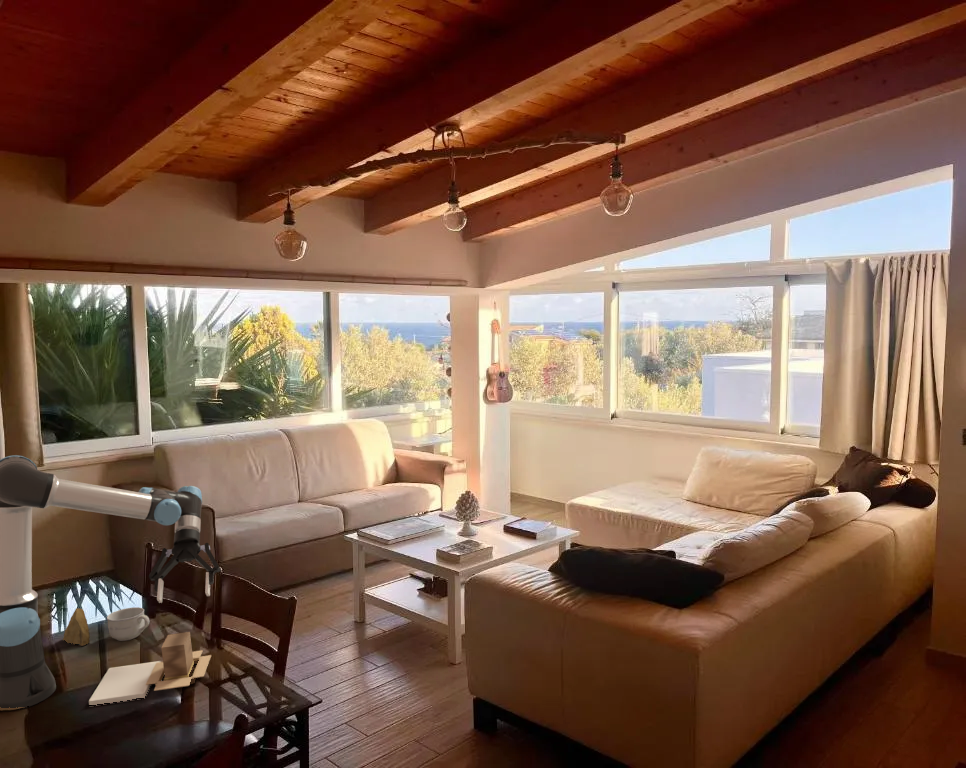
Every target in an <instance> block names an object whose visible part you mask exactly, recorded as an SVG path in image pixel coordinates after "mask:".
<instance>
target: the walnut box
mask: <svg viewBox="0 0 966 768" xmlns="http://www.w3.org/2000/svg"><path fill="white" fill-rule="evenodd" d="M192 647H193V646H192V640H191V632H190V631H186V632H177V633H171V634H167V635H166V637H165V640H164V641H163V643H162V646H161V657H162V662H163V665H164V673H165V676H164V678H163V681H165V680H172V679H179V678H186V677H189V674H190V672H191V670H192V667H193V665H194V661H193V654H192V652H193V648H192Z"/></svg>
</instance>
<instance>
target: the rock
mask: <svg viewBox="0 0 966 768" xmlns="http://www.w3.org/2000/svg"><path fill="white" fill-rule="evenodd" d="M90 637H91V636H90V629H89V624H88V620H87V618H86V614H85V611H84V609H83V608H80V607H77V608H75V609H74V611H73V613H72V615H71V617H70V619H69V621H68V624H67V626H66V628H65V630H64V634H63V638H62V641H64V640H65V641H66V642H67V643H66V642H65V641H64V642H65V643H66V644H69V643H71V645H75V644H80V645H79V646H85V645H86V644H87V645H89V644H90V642H91V641H90V640H91V639H90ZM72 643H73V644H72ZM88 643H89V644H88ZM87 645H86V646H87Z"/></svg>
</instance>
